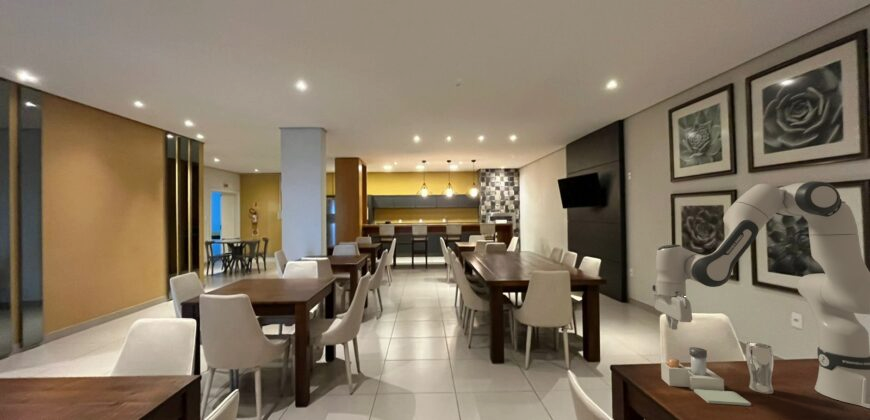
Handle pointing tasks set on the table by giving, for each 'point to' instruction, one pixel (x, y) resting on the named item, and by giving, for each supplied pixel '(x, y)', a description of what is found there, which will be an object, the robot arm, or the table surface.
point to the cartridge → (698, 361)
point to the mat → (722, 397)
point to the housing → (690, 378)
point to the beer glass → (760, 366)
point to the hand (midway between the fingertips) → (672, 328)
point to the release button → (673, 363)
